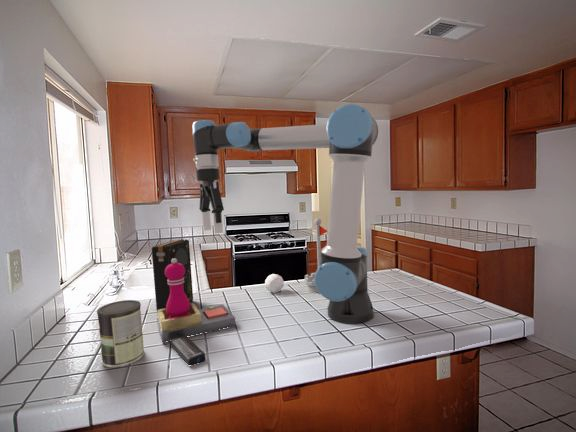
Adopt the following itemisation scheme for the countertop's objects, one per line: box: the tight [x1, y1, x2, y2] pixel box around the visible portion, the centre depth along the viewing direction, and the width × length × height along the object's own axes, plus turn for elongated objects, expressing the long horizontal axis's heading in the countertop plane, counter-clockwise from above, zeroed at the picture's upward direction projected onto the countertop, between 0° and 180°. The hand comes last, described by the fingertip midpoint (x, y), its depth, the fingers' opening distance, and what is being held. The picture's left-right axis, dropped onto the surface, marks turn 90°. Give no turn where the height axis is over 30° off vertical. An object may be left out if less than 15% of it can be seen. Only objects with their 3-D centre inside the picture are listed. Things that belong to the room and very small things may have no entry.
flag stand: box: [304, 217, 328, 294], centre depth 140 cm, size 13×13×30 cm
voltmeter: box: [151, 238, 194, 313], centre depth 125 cm, size 16×9×25 cm, turn 168°
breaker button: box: [204, 307, 227, 319], centre depth 110 cm, size 6×6×3 cm
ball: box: [264, 273, 285, 294], centre depth 139 cm, size 8×8×8 cm
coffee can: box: [96, 299, 145, 368], centre depth 88 cm, size 10×10×14 cm
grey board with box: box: [156, 302, 236, 343], centre depth 107 cm, size 14×22×6 cm, turn 117°
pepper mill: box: [165, 258, 191, 319], centre depth 104 cm, size 7×7×20 cm
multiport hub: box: [170, 336, 206, 366], centre depth 90 cm, size 4×14×2 cm, turn 37°
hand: (212, 231), depth 113 cm, fingers open, 13 cm apart
